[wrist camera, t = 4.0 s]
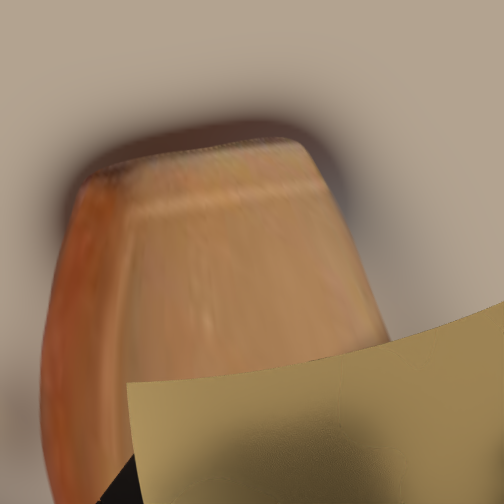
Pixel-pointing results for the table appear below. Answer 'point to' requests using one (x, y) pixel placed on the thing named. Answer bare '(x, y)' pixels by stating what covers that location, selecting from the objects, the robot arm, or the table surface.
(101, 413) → the table surface
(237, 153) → the table surface
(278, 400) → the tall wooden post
